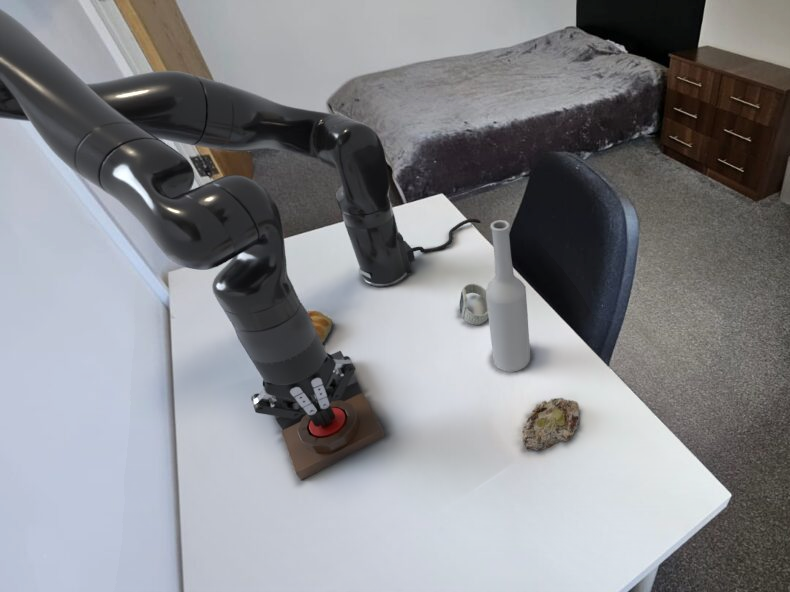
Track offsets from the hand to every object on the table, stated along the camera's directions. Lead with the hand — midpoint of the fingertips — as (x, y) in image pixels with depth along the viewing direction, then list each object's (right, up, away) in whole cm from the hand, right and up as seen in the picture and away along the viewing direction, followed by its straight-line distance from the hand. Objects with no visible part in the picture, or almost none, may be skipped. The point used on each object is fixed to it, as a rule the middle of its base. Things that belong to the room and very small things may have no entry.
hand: (326, 421), depth 69 cm
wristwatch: (+16, +15, +26) cm, 34 cm away
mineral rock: (+32, -3, +6) cm, 33 cm away
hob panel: (-6, +2, +9) cm, 11 cm away
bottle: (+25, +7, +16) cm, 30 cm away
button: (0, -1, +1) cm, 2 cm away
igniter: (0, -3, +3) cm, 4 cm away
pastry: (-13, +11, +18) cm, 25 cm away
